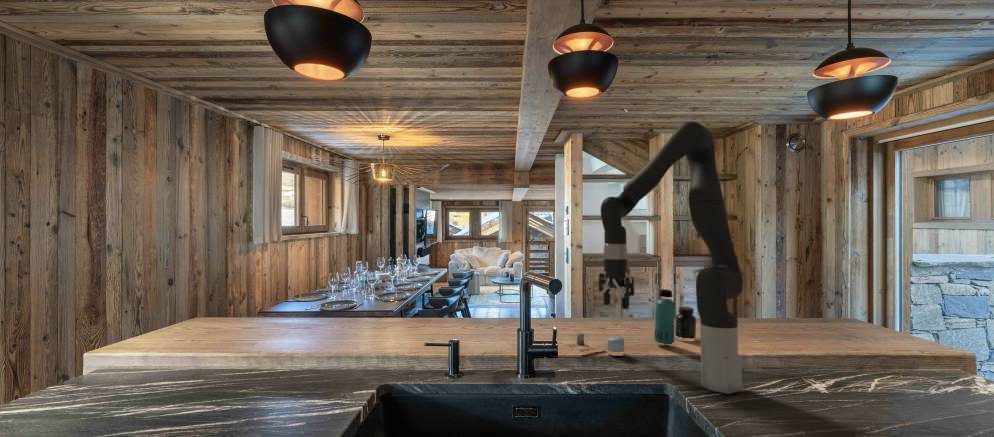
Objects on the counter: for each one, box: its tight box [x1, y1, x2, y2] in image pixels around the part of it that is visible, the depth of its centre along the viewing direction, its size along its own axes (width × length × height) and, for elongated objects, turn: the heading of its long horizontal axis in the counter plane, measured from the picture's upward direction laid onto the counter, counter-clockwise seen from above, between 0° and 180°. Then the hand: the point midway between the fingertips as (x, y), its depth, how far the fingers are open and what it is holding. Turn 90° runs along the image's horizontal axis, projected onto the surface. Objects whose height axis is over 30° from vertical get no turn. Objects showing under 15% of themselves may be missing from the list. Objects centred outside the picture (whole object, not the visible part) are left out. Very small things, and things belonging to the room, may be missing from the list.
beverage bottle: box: [654, 288, 676, 345], centre depth 154 cm, size 6×7×20 cm
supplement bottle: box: [674, 306, 697, 339], centre depth 162 cm, size 7×7×12 cm
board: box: [559, 332, 595, 352], centre depth 152 cm, size 12×10×5 cm
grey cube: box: [607, 336, 625, 352], centre depth 146 cm, size 5×5×5 cm
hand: (615, 306), depth 146 cm, fingers open, 8 cm apart
